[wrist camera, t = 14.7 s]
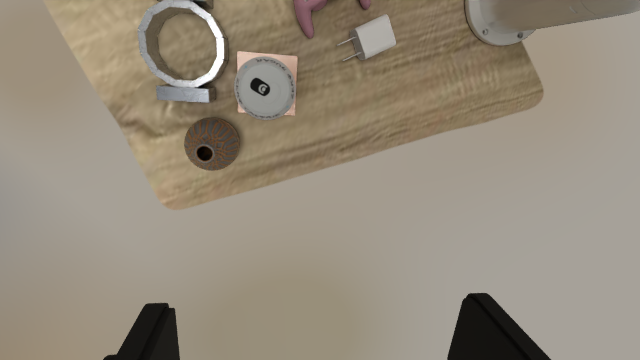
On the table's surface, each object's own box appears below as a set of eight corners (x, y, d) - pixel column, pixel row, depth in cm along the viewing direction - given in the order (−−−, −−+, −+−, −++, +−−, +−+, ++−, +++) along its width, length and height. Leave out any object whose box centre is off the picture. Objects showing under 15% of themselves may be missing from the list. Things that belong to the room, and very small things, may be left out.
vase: (226, 170, 47) (215, 191, 39) (183, 144, 45) (162, 161, 36) (251, 132, 45) (245, 146, 37) (208, 104, 43) (192, 112, 35)
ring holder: (146, -13, 38) (127, -25, 33) (227, -4, 39) (220, -14, 35) (156, 95, 42) (141, 98, 37) (229, 99, 43) (223, 103, 39)
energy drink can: (276, 115, 44) (277, 134, 30) (238, 92, 43) (219, 100, 29) (298, 77, 43) (309, 79, 29) (260, 52, 42) (251, 41, 27)
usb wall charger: (386, 47, 44) (397, 45, 40) (342, 67, 44) (348, 67, 40) (377, 18, 43) (387, 13, 39) (331, 39, 43) (336, 36, 39)
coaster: (297, 56, 43) (297, 56, 42) (294, 115, 45) (294, 115, 45) (237, 51, 42) (237, 51, 41) (238, 112, 44) (238, 112, 44)
